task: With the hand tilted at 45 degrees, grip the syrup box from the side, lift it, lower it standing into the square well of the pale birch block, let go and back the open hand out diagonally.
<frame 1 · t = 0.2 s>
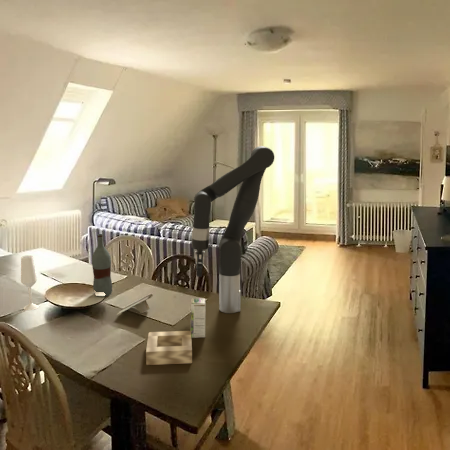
hand: (198, 273, 216), 18 cm above the table, tool pointing down, fingers open, 8 cm apart
champagne flute: (31, 307, 223), on the table
bottle: (103, 294, 240), on the table
well block: (169, 353, 180), on the table
syrup box: (198, 335, 196), on the table
grey slanted panel: (135, 313, 218), on the table
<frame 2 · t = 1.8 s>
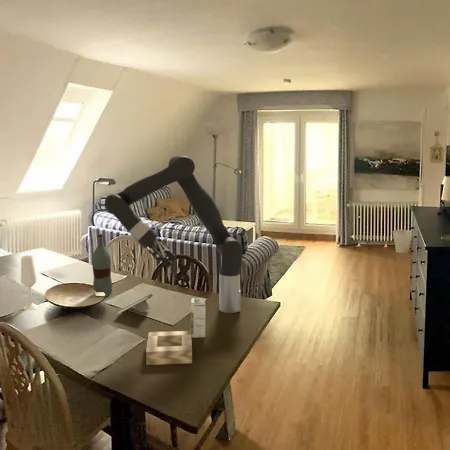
hand: (172, 262, 195), 28 cm above the table, tool tilted 45°, fingers open, 8 cm apart
nothing on the table moved.
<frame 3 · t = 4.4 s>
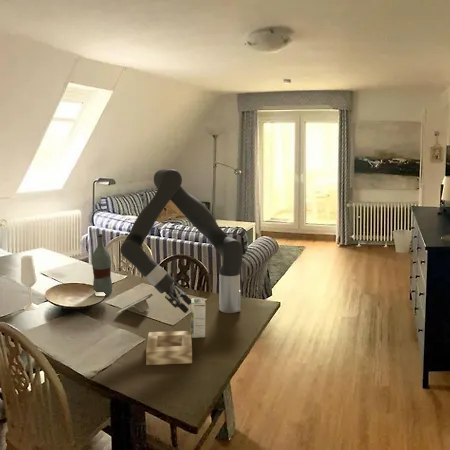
hand: (188, 307, 194), 11 cm above the table, tool tilted 45°, fingers open, 8 cm apart
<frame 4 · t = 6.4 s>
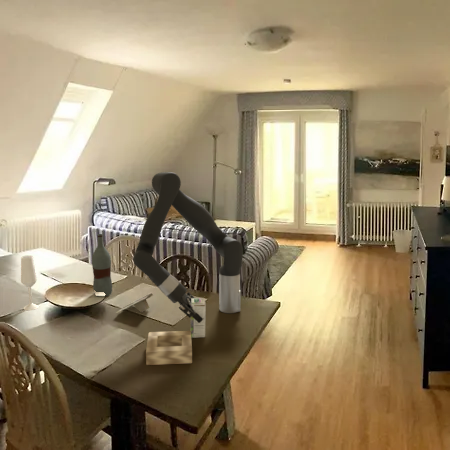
hand: (202, 317, 194), 7 cm above the table, tool tilted 45°, fingers closed on syrup box, 6 cm apart
syrup box: (198, 335, 196), on the table, touching gripper
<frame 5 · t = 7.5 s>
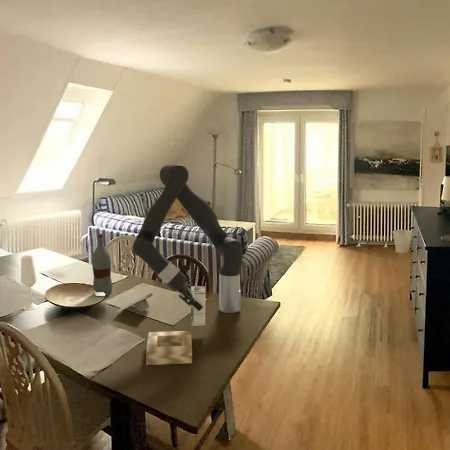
hand: (202, 305, 193), 12 cm above the table, tool tilted 45°, fingers closed on syrup box, 6 cm apart
syrup box: (198, 323, 195), point 5 cm above the table, touching gripper
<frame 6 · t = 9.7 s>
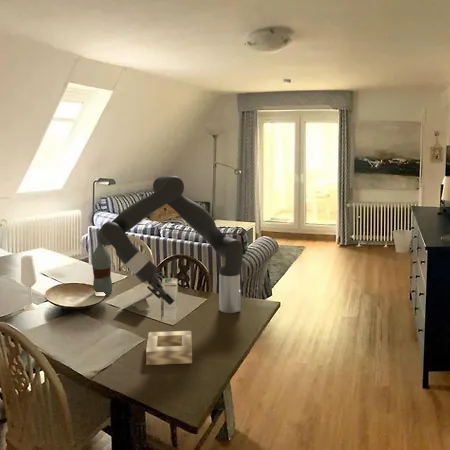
hand: (173, 299, 177), 21 cm above the table, tool tilted 45°, fingers closed on syrup box, 6 cm apart
syrup box: (169, 318, 178), point 13 cm above the table, touching gripper
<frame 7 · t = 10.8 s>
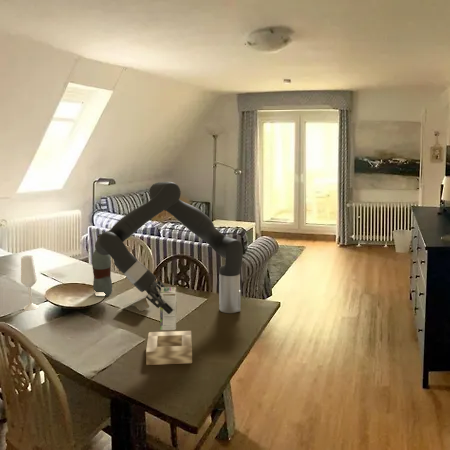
hand: (172, 308, 176), 18 cm above the table, tool tilted 45°, fingers closed on syrup box, 6 cm apart
syrup box: (168, 327, 178), point 10 cm above the table, touching gripper
when the fingers open (9 cm above the table, at t = 13.2 s): syrup box drops 2 cm, resting in well block.
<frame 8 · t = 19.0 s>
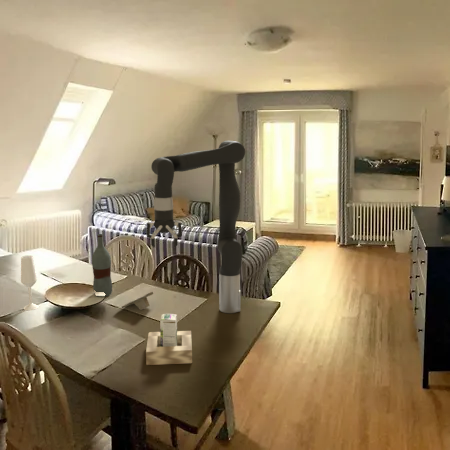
hand: (164, 247, 200), 33 cm above the table, tool pointing down, fingers open, 8 cm apart
syrup box: (169, 354, 180), resting in well block
grey slanted panel: (136, 309, 222), on the table
everything else where it was.
at the end: syrup box 0.2 cm off-centre on the well block, point 0.0 cm above the well block's base; syrup box tilted 0°; the gripper is holding nothing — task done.
